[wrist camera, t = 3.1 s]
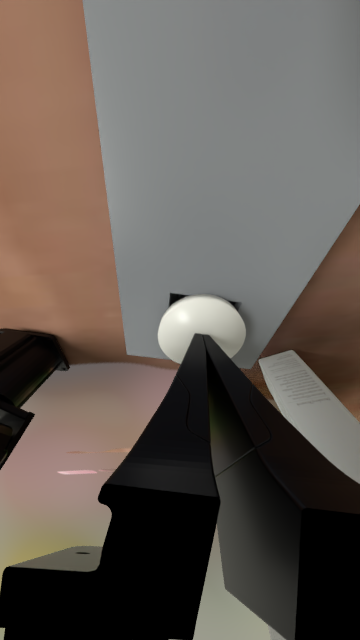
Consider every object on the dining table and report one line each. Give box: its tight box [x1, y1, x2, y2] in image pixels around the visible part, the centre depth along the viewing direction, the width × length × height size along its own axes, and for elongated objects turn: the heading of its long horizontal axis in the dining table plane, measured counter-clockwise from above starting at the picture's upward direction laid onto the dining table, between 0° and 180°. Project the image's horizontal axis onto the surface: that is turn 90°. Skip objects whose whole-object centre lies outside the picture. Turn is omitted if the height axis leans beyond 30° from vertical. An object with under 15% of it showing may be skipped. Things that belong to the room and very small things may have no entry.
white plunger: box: [158, 294, 246, 364], centre depth 10 cm, size 5×5×5 cm
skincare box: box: [258, 350, 360, 484], centre depth 13 cm, size 6×4×12 cm
